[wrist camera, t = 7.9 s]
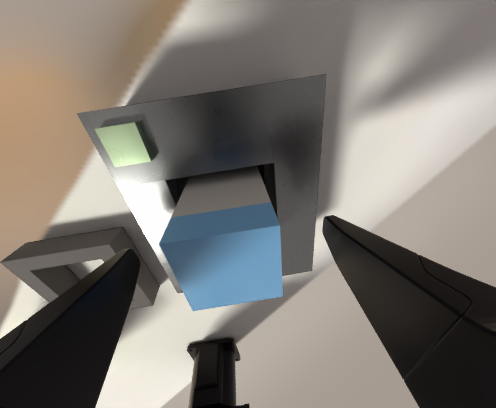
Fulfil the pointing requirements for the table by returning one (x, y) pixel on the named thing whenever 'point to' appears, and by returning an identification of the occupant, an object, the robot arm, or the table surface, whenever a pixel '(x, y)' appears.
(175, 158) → the port
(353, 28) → the table surface
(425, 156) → the table surface
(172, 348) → the table surface
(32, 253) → the gray square frame
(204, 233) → the plug
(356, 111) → the table surface
